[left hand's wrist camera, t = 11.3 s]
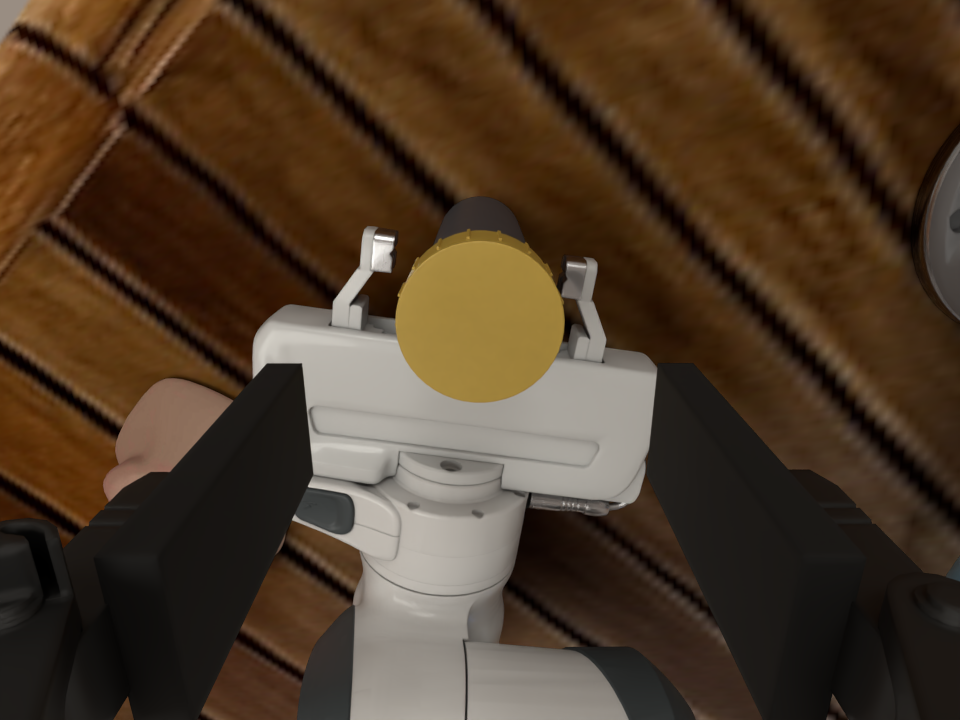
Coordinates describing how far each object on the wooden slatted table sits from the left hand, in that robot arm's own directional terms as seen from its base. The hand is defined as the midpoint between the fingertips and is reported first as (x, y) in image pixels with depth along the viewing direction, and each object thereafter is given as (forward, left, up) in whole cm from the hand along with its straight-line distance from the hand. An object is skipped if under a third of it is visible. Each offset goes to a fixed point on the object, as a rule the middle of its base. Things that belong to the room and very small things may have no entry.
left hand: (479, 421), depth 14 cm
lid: (0, 0, -7) cm, 7 cm away
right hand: (0, -1, -17) cm, 17 cm away
